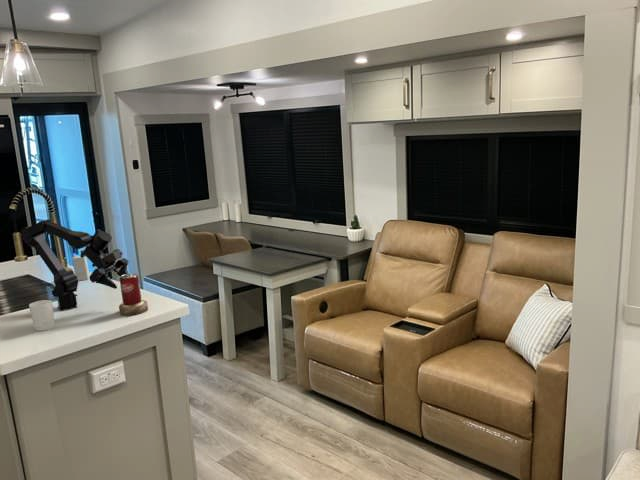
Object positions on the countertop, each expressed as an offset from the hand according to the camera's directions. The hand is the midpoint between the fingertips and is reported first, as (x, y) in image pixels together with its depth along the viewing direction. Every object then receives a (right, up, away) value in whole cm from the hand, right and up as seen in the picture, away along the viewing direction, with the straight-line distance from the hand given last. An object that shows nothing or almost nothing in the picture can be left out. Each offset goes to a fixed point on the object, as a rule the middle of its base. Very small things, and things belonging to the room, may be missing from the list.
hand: (123, 284), depth 216 cm
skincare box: (-42, -2, +56) cm, 70 cm away
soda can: (+3, -8, +1) cm, 9 cm away
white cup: (-26, -16, -12) cm, 33 cm away
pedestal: (+4, -11, +1) cm, 12 cm away
